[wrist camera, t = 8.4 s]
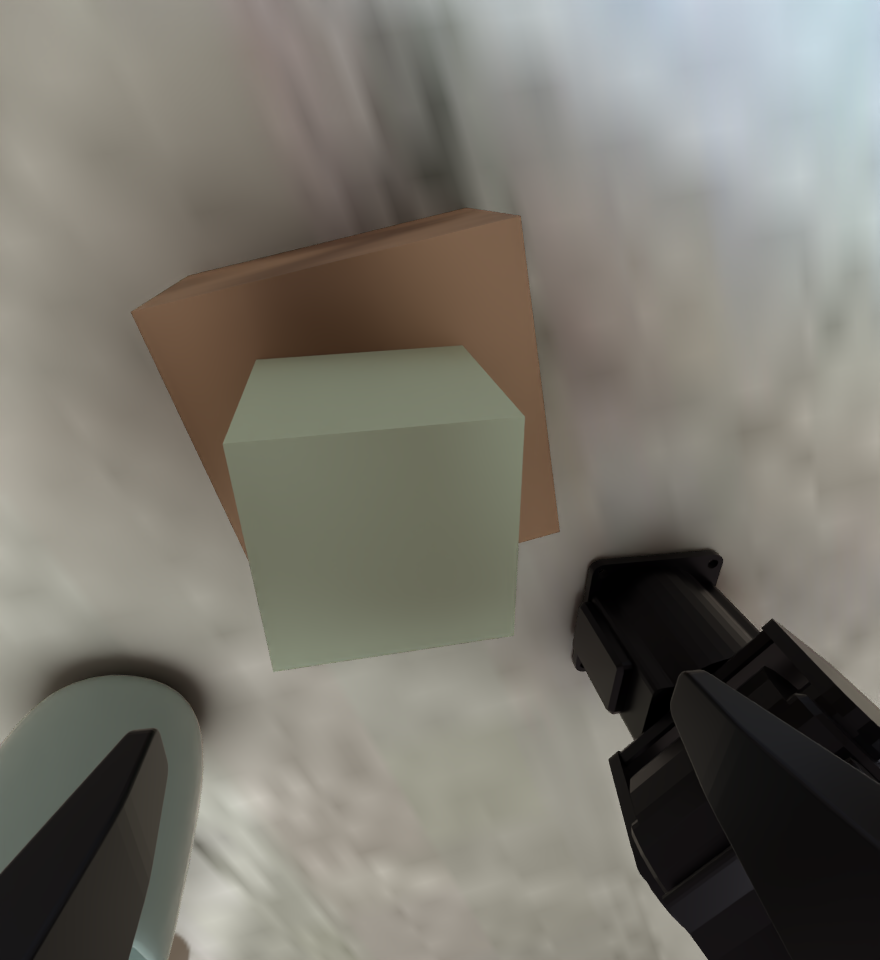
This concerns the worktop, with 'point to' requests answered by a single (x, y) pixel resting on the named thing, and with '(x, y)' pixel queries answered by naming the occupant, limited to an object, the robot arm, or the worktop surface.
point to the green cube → (377, 502)
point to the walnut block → (358, 327)
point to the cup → (75, 754)
